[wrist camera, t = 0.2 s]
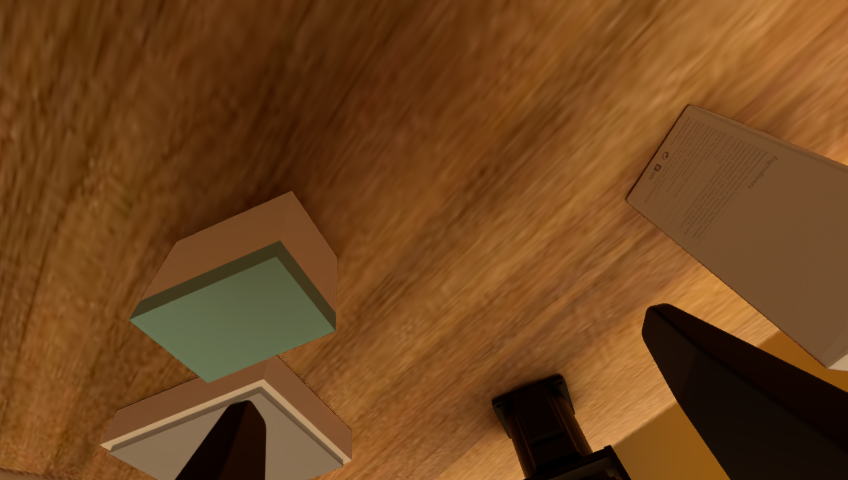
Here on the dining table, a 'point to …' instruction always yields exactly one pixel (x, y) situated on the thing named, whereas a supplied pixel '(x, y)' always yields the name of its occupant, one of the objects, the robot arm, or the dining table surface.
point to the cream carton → (243, 290)
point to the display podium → (204, 404)
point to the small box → (758, 223)
